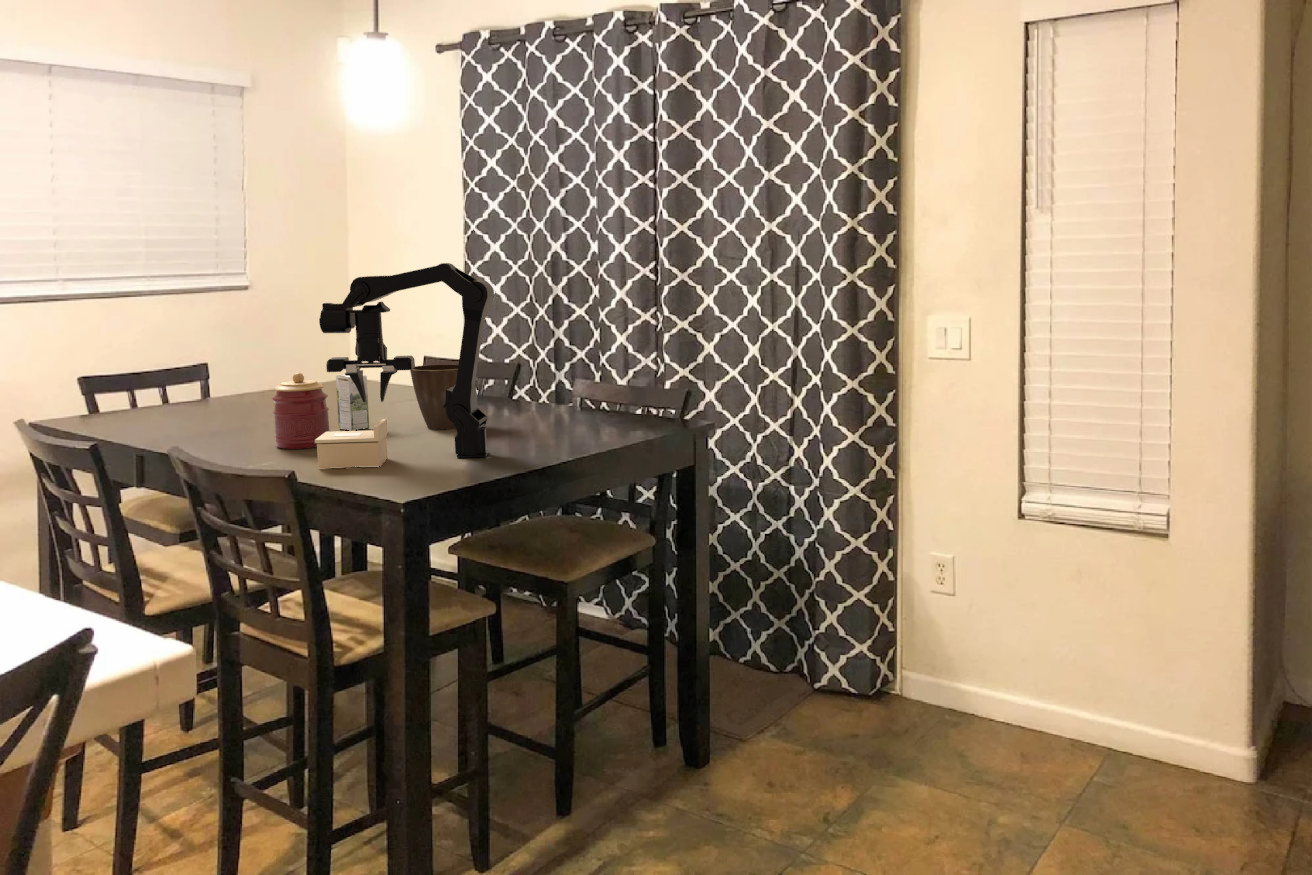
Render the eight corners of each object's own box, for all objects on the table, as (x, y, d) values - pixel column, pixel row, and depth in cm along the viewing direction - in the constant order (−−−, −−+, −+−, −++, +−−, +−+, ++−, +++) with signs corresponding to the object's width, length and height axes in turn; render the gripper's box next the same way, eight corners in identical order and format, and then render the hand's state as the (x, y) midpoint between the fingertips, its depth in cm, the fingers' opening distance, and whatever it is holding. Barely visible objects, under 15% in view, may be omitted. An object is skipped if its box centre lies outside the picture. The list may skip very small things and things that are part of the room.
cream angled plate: (387, 432, 247) (386, 418, 247) (379, 441, 237) (378, 426, 236) (326, 434, 246) (325, 420, 246) (314, 443, 236) (313, 428, 235)
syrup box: (356, 426, 293) (353, 372, 290) (370, 428, 289) (366, 374, 286) (338, 429, 288) (334, 375, 286) (352, 432, 285) (348, 376, 282)
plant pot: (424, 422, 297) (421, 363, 295) (478, 422, 295) (475, 363, 292) (405, 432, 283) (401, 370, 280) (460, 432, 281) (457, 370, 278)
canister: (263, 448, 264) (257, 375, 261) (298, 439, 276) (293, 369, 273) (308, 450, 259) (303, 376, 256) (342, 441, 271) (337, 370, 268)
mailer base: (387, 458, 248) (386, 434, 247) (379, 467, 238) (377, 442, 237) (329, 460, 247) (327, 436, 246) (318, 469, 237) (316, 444, 236)
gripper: (416, 329, 255) (420, 395, 257) (334, 331, 253) (339, 398, 256) (409, 333, 244) (413, 402, 246) (323, 335, 243) (328, 405, 245)
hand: (373, 401), depth 249 cm, fingers open, 4 cm apart
